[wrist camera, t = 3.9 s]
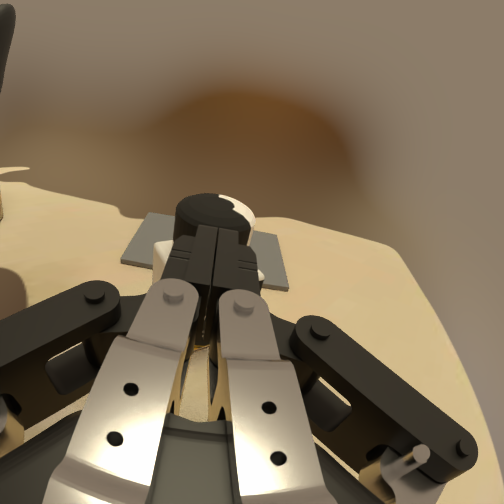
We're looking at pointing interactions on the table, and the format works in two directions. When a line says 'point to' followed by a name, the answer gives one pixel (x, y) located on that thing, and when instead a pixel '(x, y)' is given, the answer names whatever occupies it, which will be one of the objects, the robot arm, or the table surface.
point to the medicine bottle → (209, 214)
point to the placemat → (162, 230)
